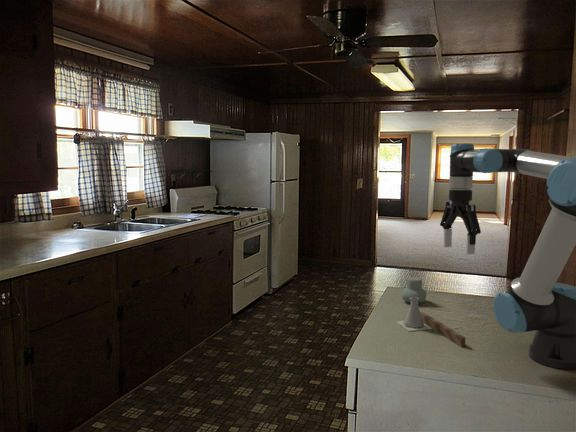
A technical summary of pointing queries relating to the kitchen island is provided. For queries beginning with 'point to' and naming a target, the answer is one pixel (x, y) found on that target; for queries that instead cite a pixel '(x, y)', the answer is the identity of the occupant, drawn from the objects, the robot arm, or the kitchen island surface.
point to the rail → (443, 330)
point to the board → (413, 327)
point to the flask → (414, 314)
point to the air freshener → (414, 290)
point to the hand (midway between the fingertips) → (458, 250)
